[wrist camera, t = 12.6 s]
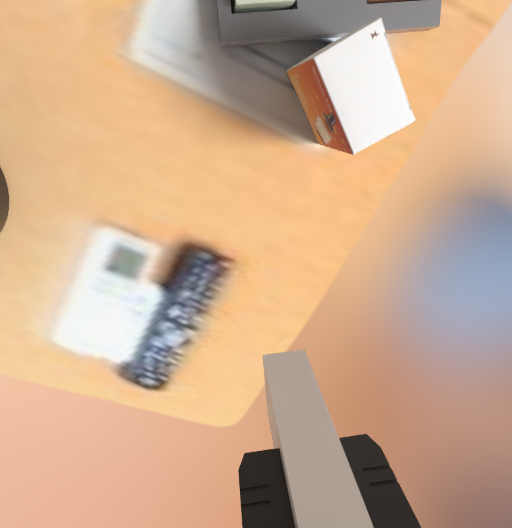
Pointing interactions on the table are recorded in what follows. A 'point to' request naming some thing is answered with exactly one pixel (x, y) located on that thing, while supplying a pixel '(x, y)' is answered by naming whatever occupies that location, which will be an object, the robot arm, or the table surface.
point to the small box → (352, 90)
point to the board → (323, 20)
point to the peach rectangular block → (385, 1)
